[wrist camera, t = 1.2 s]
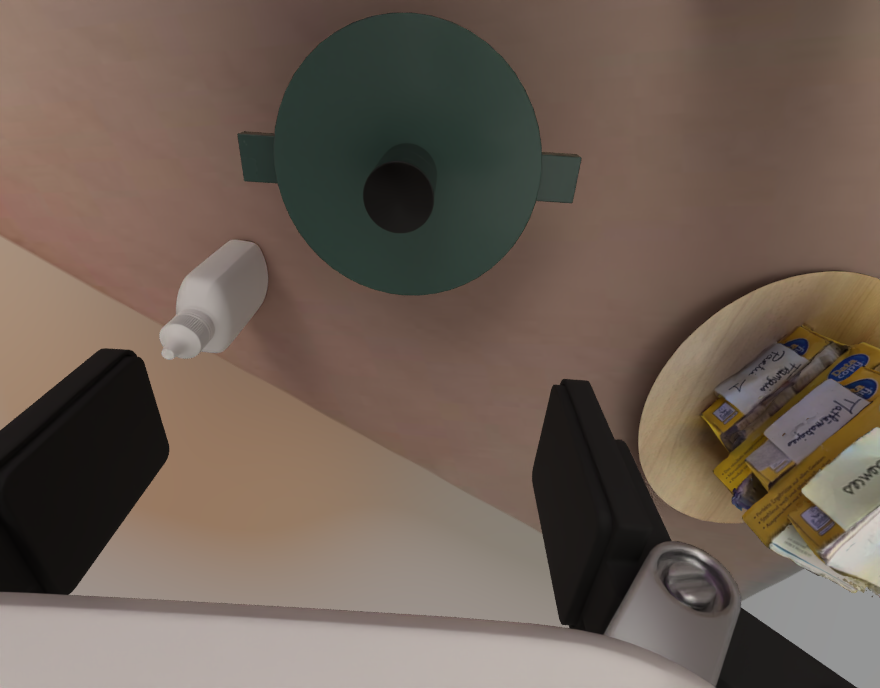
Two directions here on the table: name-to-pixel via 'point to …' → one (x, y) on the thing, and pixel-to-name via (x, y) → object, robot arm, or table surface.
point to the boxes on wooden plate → (779, 423)
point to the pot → (553, 188)
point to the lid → (407, 153)
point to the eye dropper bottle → (216, 301)
